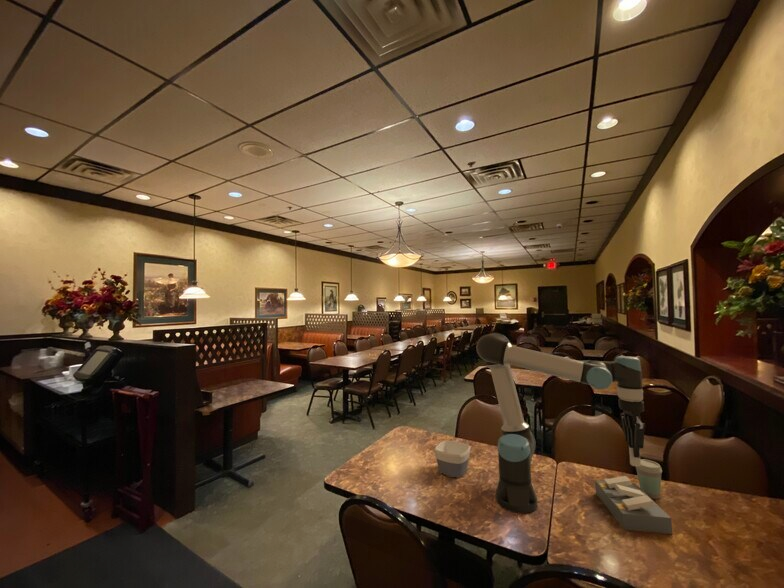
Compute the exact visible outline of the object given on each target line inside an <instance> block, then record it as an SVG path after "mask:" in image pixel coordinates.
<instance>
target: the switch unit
mask: <svg viewBox="0 0 784 588" xmlns="http://www.w3.org/2000/svg"><path fill="white" fill-rule="evenodd" d="M594 484H595V494H596V495H597V497H598V499H600V501H602V503H603V504H604V506H605V507H606V508H607V509H608V511H609V512H610V514H611V515H612V516H613V518H615V520H616V522H617V523H618V524H619V525H620V526H621V527H622V529H623V530H626V531H639V532H644V533H645V532H647V533H656V534H657V533H659V534H668V535H673V525H672V518H671V515H669V514H668V513H667V512H666V511H664V509H663V508H661V507H660V506H659V504H657V503H656V502H655V501H654V499H653V498H650V497H649V496H648V495H647V494H646V493H644V492H643V491H642V490H641V489H640V486H638V485H637V484H636V483H633V482H632V485H627V486H625V487H629V488H633V489H637V490H640V491H641V492H642V493H643V494H644V495H647V496H648V497H649V498H650V499H651V500H652V501H653V504H654V506H651V507H646V508H643V510H640V509H635V510H628V509H627V508H626V507H625V506H624V504H623V502H622V500H624V499H629V498H631V497H630V496H627V495H623V494H620V493H619V492H618V491H617V490H616V489H615V488H609V487H608V486H607V485H606V483H605V480H594ZM634 498H635V497H634Z"/></svg>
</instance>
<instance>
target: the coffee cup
mask: <svg viewBox="0 0 784 588" xmlns="http://www.w3.org/2000/svg"><path fill="white" fill-rule="evenodd" d="M640 462H641V466H634V467H635V470H636V474H637V478H638V479H637V480H638V484H639V488H640V489H641V490H642V491H643V492H644V493H646V494H647V495H648V496H649V497H650V498H651V499H652V500H657V499H658V500H659V499H660V498H661V486H662V485H661V484H662V473H663V470H662V469H663V468H662V466H661V465H660V464H659V463H657V462H656V461H653V460H649V459H645V458H643V459H642V458H640Z"/></svg>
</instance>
